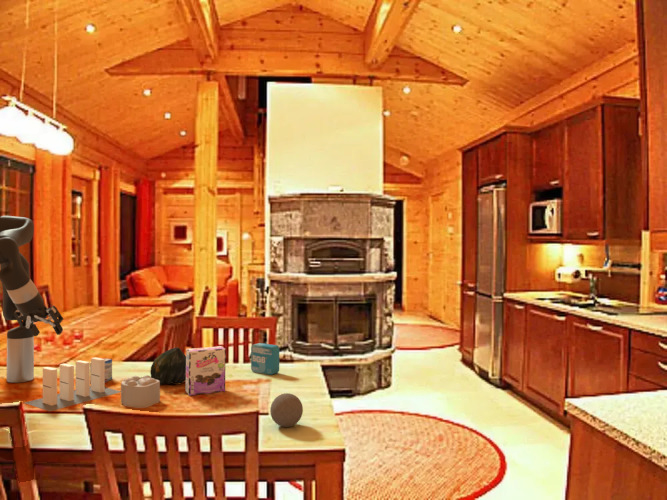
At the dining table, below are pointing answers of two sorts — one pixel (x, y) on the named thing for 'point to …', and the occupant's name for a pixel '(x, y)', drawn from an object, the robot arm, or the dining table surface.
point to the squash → (170, 367)
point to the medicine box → (106, 370)
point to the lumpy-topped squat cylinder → (140, 391)
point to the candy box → (205, 370)
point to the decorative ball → (286, 410)
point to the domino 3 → (83, 378)
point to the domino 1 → (50, 386)
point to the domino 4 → (98, 374)
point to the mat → (77, 400)
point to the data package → (265, 358)
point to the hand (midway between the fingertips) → (48, 333)
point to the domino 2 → (66, 382)
